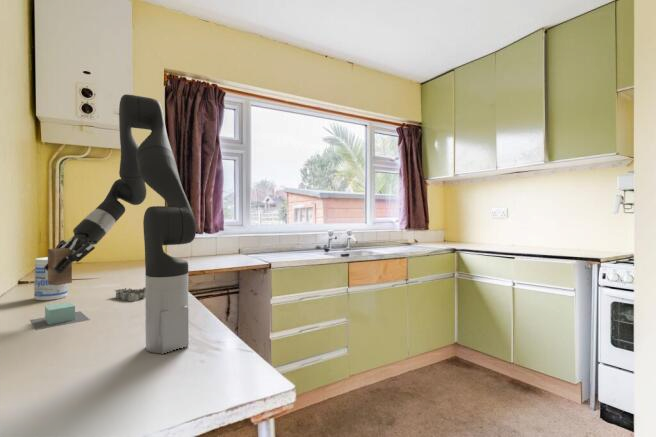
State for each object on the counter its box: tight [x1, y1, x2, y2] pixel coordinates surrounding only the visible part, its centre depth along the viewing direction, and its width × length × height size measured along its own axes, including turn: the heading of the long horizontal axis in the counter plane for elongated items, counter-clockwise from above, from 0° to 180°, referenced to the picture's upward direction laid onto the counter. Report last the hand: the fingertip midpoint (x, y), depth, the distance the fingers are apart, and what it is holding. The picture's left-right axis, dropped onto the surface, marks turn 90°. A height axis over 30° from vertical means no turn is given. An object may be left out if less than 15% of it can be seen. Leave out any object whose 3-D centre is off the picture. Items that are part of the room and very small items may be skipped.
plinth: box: [44, 301, 76, 325], centre depth 98 cm, size 6×6×4 cm
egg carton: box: [114, 286, 146, 302], centre depth 125 cm, size 11×8×4 cm
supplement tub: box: [33, 256, 69, 301], centre depth 124 cm, size 10×10×15 cm
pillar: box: [47, 248, 73, 285], centre depth 98 cm, size 4×4×10 cm
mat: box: [29, 310, 91, 331], centre depth 99 cm, size 12×12×1 cm
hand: (52, 270), depth 97 cm, fingers closed on pillar, 4 cm apart
